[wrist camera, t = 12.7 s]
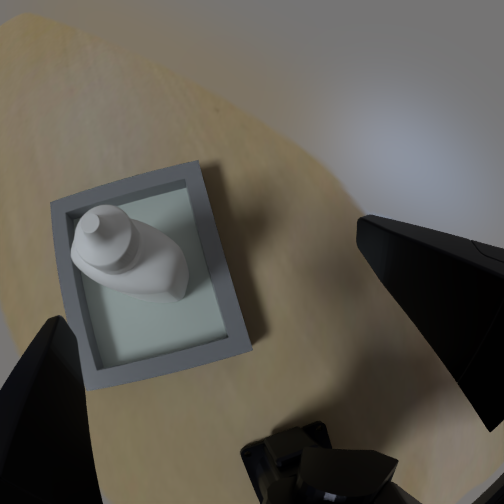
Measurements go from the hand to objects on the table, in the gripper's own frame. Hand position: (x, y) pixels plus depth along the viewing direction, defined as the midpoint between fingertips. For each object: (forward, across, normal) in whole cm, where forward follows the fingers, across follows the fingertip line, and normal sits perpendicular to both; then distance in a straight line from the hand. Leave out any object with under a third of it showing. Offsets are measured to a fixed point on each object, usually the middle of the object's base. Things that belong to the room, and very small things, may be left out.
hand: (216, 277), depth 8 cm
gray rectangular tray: (+12, +4, +7) cm, 14 cm away
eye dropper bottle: (+12, +3, +7) cm, 14 cm away
